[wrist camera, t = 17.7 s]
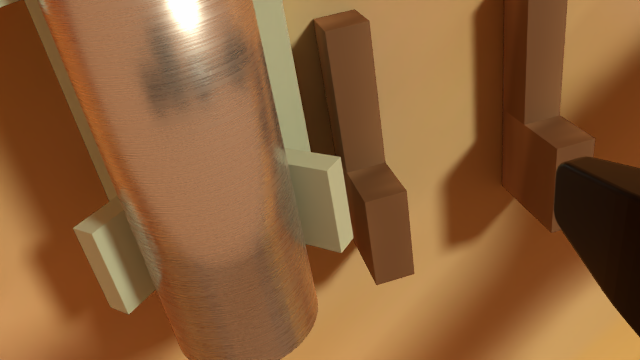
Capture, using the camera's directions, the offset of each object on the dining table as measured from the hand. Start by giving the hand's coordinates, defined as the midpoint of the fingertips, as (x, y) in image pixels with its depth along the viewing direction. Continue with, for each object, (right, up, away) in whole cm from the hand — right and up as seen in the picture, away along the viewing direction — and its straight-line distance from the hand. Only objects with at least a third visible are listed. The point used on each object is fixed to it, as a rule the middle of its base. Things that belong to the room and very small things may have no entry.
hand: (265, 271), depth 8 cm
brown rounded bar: (-3, +4, +8) cm, 10 cm away
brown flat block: (+5, +4, +13) cm, 15 cm away
